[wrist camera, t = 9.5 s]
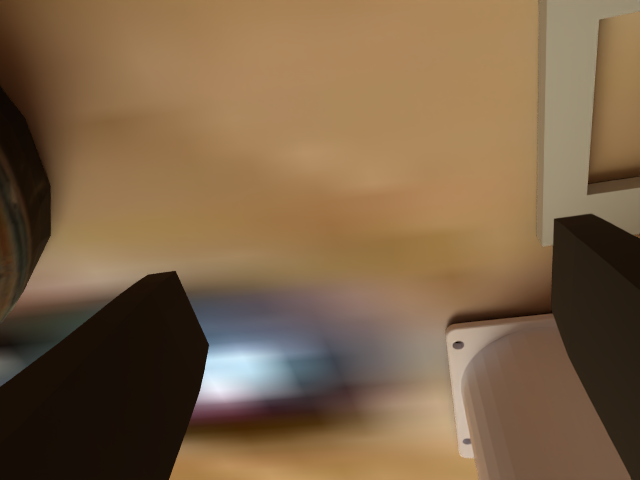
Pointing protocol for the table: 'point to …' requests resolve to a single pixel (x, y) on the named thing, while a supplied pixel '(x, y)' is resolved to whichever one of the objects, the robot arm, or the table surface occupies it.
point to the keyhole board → (574, 119)
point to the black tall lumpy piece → (20, 205)
